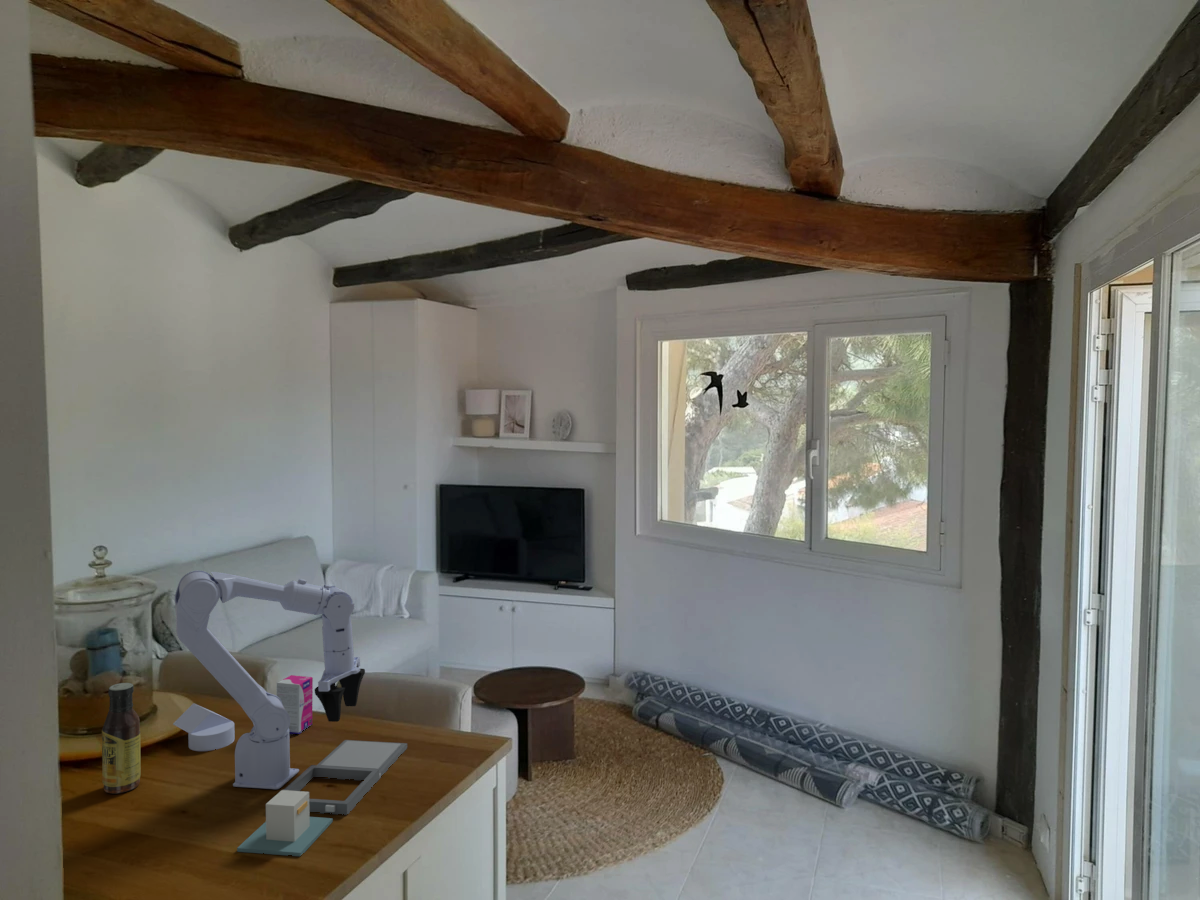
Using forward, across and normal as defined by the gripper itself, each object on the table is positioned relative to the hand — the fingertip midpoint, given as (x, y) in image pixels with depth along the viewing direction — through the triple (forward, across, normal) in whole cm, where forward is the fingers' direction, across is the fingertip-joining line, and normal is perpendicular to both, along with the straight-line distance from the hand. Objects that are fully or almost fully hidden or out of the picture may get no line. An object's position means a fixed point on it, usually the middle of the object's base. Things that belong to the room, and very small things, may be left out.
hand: (342, 713), depth 160 cm
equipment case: (+10, -6, -3) cm, 12 cm away
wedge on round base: (+10, +7, +35) cm, 37 cm away
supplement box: (+10, +15, +19) cm, 27 cm away
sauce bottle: (+9, -16, +37) cm, 41 cm away
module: (+9, -28, -3) cm, 30 cm away
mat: (+10, -28, -3) cm, 30 cm away
